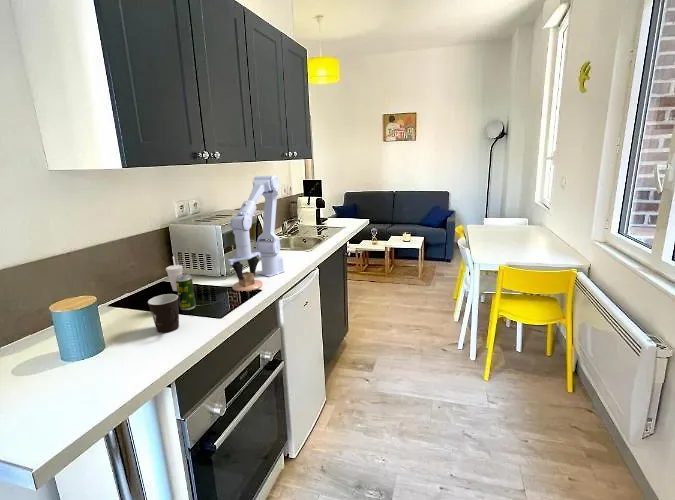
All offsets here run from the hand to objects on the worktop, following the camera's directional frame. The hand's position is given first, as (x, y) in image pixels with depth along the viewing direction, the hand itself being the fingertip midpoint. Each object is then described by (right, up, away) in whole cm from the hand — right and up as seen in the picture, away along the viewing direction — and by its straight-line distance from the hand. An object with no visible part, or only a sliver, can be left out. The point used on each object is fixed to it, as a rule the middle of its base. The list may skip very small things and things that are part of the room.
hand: (246, 277), depth 149 cm
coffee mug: (-16, -14, -35) cm, 41 cm away
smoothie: (-29, -5, +1) cm, 29 cm away
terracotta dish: (0, -4, +1) cm, 4 cm away
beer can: (-17, -10, -18) cm, 26 cm away
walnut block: (0, -3, +1) cm, 3 cm away
